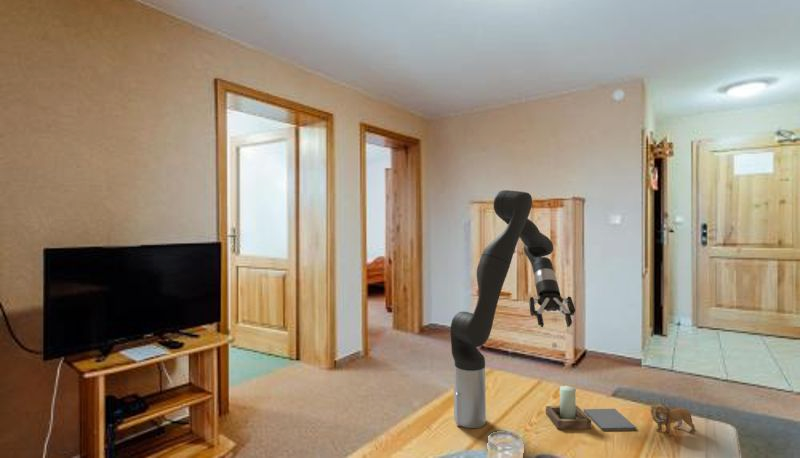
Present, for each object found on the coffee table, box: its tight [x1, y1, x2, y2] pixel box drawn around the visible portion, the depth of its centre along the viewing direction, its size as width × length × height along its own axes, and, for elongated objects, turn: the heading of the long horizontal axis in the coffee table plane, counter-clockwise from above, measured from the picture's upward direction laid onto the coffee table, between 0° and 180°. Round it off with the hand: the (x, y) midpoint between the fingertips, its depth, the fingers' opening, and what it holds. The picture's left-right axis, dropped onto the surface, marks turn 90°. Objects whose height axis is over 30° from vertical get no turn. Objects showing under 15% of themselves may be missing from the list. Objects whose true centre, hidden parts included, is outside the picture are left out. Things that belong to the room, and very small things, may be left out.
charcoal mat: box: [582, 408, 637, 432], centre depth 126 cm, size 10×12×1 cm
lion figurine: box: [650, 403, 696, 437], centre depth 119 cm, size 15×5×9 cm, turn 108°
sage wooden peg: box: [559, 385, 577, 419], centre depth 126 cm, size 4×4×10 cm
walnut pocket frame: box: [545, 405, 592, 431], centre depth 126 cm, size 10×10×2 cm
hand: (555, 325), depth 136 cm, fingers open, 8 cm apart
